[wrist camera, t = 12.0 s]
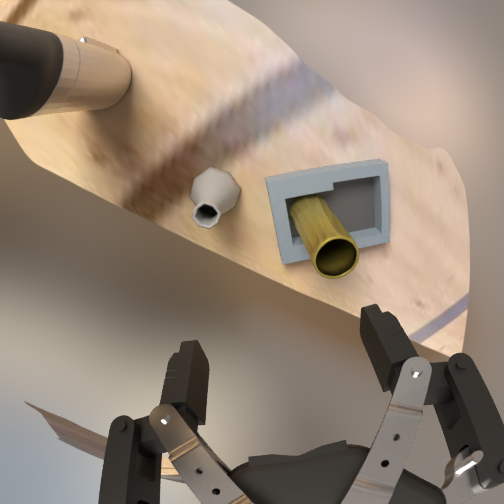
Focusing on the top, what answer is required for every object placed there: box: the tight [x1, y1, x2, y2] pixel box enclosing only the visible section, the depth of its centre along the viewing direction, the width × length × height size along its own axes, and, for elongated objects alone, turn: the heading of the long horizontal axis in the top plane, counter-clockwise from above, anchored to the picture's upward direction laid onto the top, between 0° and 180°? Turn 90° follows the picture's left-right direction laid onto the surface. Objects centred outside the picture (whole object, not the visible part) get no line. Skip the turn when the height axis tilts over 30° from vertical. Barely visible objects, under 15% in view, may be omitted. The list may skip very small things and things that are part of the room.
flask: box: [190, 167, 241, 229], centre depth 35 cm, size 7×7×10 cm
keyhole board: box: [265, 159, 390, 265], centre depth 39 cm, size 13×18×3 cm
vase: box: [289, 193, 359, 279], centre depth 34 cm, size 6×6×14 cm
